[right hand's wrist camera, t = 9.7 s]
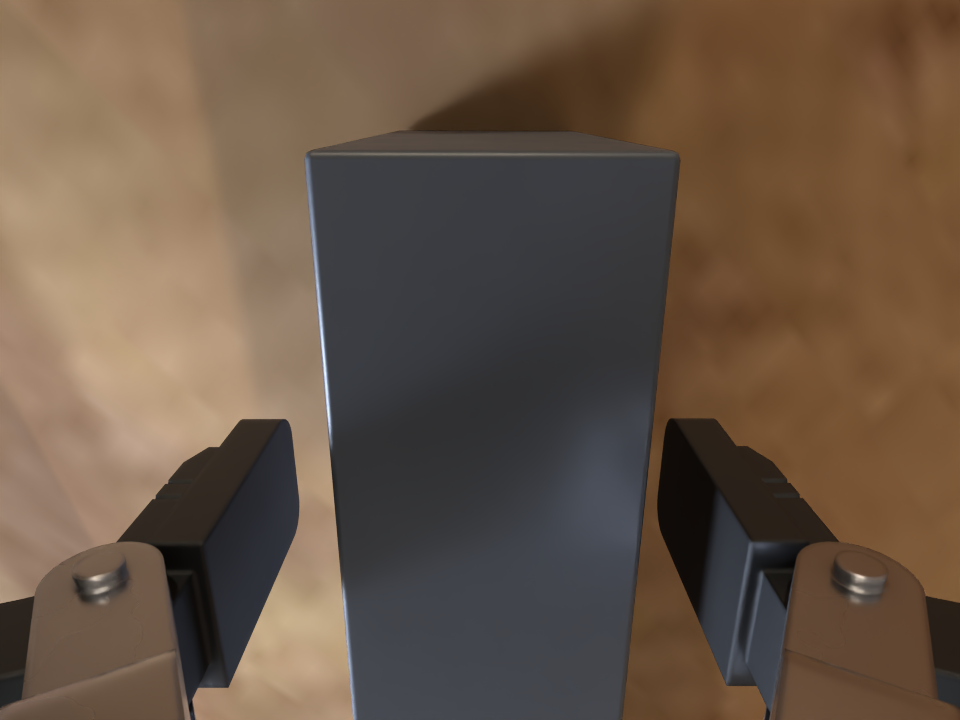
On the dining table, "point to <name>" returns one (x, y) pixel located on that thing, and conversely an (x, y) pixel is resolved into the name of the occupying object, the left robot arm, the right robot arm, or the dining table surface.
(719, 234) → the dining table surface
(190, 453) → the dining table surface
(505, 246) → the post
